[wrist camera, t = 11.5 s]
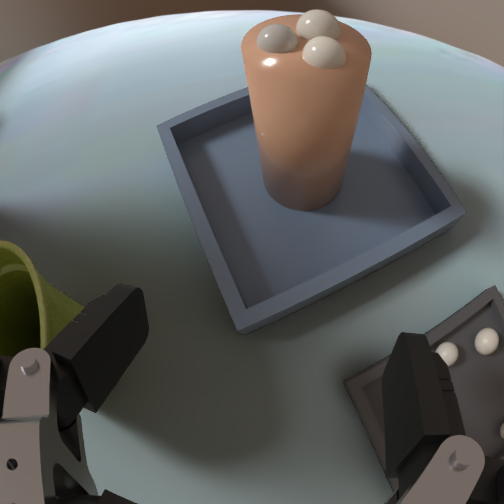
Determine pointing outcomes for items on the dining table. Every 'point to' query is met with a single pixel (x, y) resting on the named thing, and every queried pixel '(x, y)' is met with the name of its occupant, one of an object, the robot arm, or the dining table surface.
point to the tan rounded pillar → (305, 103)
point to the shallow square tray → (301, 222)
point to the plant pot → (29, 304)
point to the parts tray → (452, 376)
